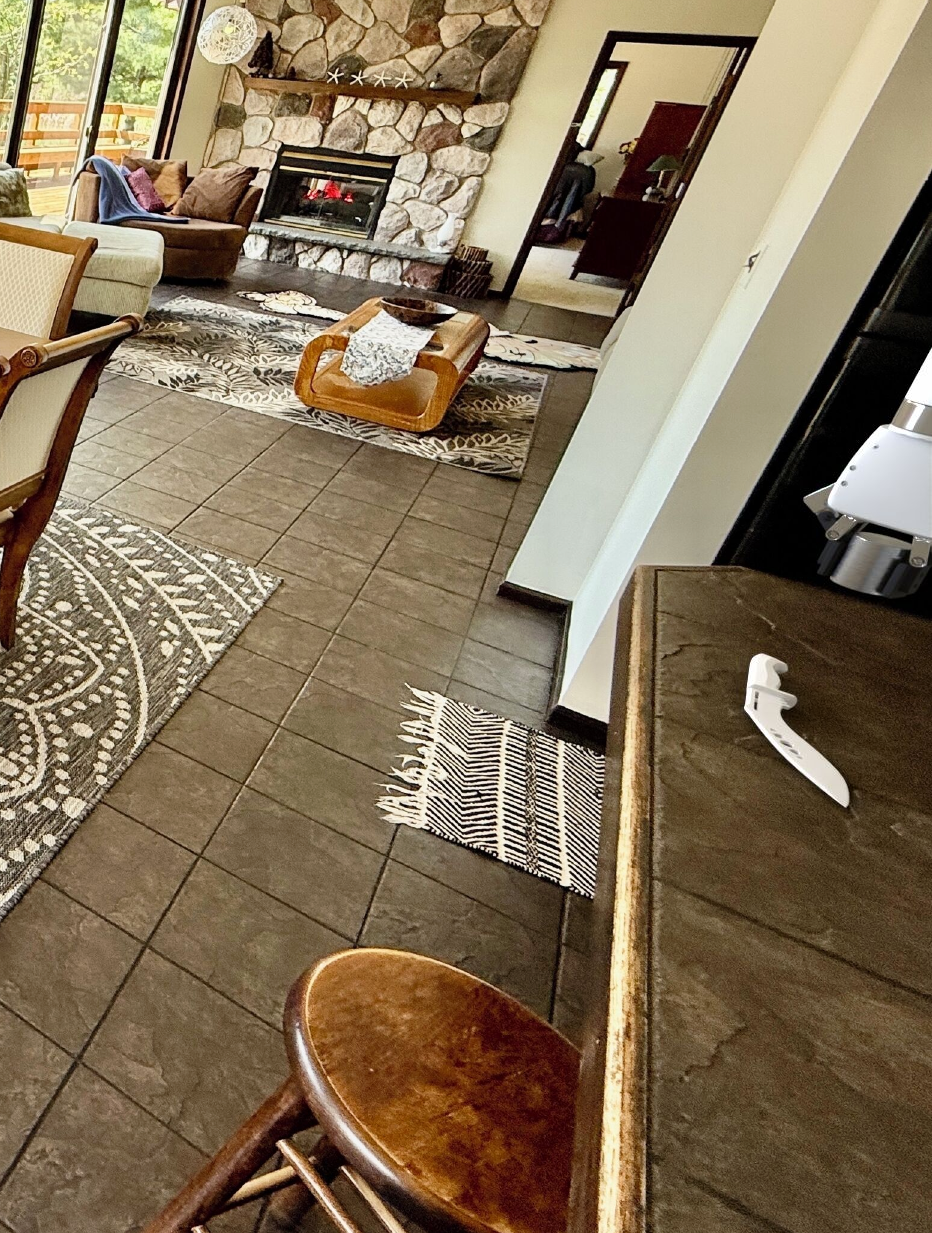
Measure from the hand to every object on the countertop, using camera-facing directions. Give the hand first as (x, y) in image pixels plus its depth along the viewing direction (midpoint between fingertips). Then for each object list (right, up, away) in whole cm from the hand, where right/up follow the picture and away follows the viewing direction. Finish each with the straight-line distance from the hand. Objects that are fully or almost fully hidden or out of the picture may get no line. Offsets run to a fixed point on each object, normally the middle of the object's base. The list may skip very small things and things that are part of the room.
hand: (860, 583), depth 97 cm
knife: (-7, -16, 0) cm, 18 cm away
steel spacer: (0, 0, 0) cm, 0 cm away
